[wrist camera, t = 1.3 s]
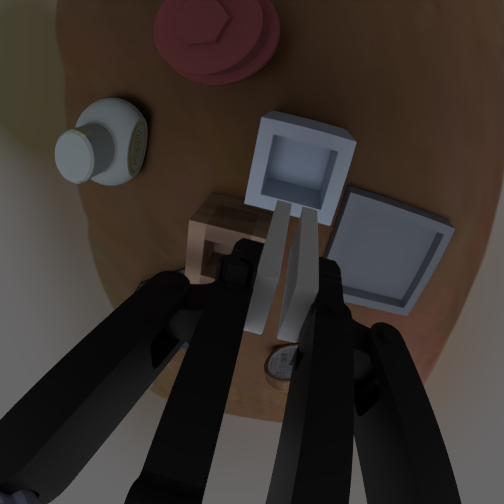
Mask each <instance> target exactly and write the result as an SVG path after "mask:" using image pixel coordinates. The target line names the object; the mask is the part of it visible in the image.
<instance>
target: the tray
mask: <svg viewBox="0 0 504 504" xmlns="http://www.w3.org/2000/svg"><path fill="white" fill-rule="evenodd" d="M454 231H455V227H454V226H453V225H452V224H451V223H450V221H449V220H448V219H445V218H443V217H440V216H437V215H435V214H432V213H430V212H427V211H424V210H422V209H419V208H416V207H413V206H411V205H408V204H405V203H402V202H399V201H396V200H393V199H391V198H388V197H385V196H382V195H379V194H376V193H372V192H369V191H366V190H363V189H360V188H357V187H353V186H350V185H348V186H347V190H346V193H345V196H344V199H343V202H342V205H341V208H340V211H339V214H338V216H337V219H336V222H335V225H334V228H333V231H332V234H331V236H330V239H329V242H328V245H327V248H326V250H325V253H324V256H323V258H327V259H330V260H334V261H336V263H337V264H338V266H339V267H340V269H341V278H342V287H343V297H344V302H348V303H352V304H356V305H361V306H365V307H369V308H373V309H378V310H382V311H386V312H391V313H395V314H400V315H404V316H407V315H408V314H409V312H410V311H411V309H412V308H413V306H414V304H415V303H416V301H417V299H418V298H419V296H420V294H421V293H422V291H423V289H424V288H425V286H426V284H427V282H428V281H429V279H430V277H431V275H432V274H433V272H434V270H435V268H436V266H437V264H438V263H439V261H440V259H441V257H442V255H443V253H444V251H445V249H446V247H447V245H448V243H449V241H450V239H451V237H452V235H453V233H454Z"/></svg>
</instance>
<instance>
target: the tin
mask: <svg viewBox="0 0 504 504" xmlns="http://www.w3.org/2000/svg"><path fill="white" fill-rule="evenodd" d="M298 344H299V343H295V344H287V345H284V346H281V347H279V348H277V349H275V350H274V351H273V352H271V353H270V354H269V356H268V357H267V359H266V361H265V364H264V372H265V375H266V379H267V382H268V384H269V385H270V386H271V387H272V388H274V389H275V390H278V391H281V392H288V390H289V385H290V379H291V372H292V366H293V364H292V366H291V365H289V364H290V361H291V359H292V357H293V355H294V353H295V351H296V349H297V347H298Z"/></svg>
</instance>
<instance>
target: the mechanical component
mask: <svg viewBox="0 0 504 504" xmlns="http://www.w3.org/2000/svg"><path fill="white" fill-rule="evenodd" d="M280 30H281V27H280V20H279V17H278V14H277V12H276V10H275V7H274V6H273V4H272V3H271V1H270V0H164V2H163V3H162V5H161V6H160V8H159V10H158V12H157V14H156V17H155V20H154V26H153V38H154V43H155V46H156V48H157V50H158V52H159V54H160V55H161V57H162V58H163V59H164V60H165V61H166V62H167V63H168V64H170V65H171V66H172V67H173V68H174V69H175V70H176V71H177V72H178V73H179V74H181V75H182V76H184V77H185V78H187V79H190V80H192V81H194V82H198V83H202V84H208V85H225V84H232V83H236V82H239V81H242V80H244V79H247V78H249V77H250V76H252V75H254V74H256V73H257V72H258V71H260V70H261V69H262V68H263V67H264V66H265V65H266V64H267V63H268V62H269V60H270V59H271V58H272V56H273V55H274V53H275V51H276V49H277V46H278V44H279V39H280Z"/></svg>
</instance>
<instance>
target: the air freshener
mask: <svg viewBox="0 0 504 504" xmlns="http://www.w3.org/2000/svg"><path fill="white" fill-rule="evenodd" d="M147 135H148V131H147V123H146V120H145V118H144V116H143V115H142V113H141V112H140V111H139V110H138V108H136V107H135V106H134V105H133V104H131V103H130V102H128V101H126V100H123V99H120V98H104V99H101V100H98V101H96V102H94V103H92V104H91V105H90V106H88V107H87V108H86V109H85V110H84V111H83V113H82V114H81V115H80V117H79V119H78V121H77V124H76V127H75V128H74V129H71V130H68V131H66V132H64V133H63V134H62V135H61V136H60V137H59V139H58V141H57V144H56V148H55V161H56V164H57V167H58V170H59V171H60V173H61V174H62V176H63V177H64V178H65V179H67V180H68V181H70V182H72V183H78V184H80V183H83V182H85V181H87V180H89V179H92V180H93V181H95V182H97V183H99V184H103V185H110V186H114V185H120V184H123V183H126V182H128V181H129V180H131V179H133V178H134V177H135V176H136V175H137V174H138V172H139V170H140V168H141V166H142V163H143V160H144V156H145V152H146V146H147Z"/></svg>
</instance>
